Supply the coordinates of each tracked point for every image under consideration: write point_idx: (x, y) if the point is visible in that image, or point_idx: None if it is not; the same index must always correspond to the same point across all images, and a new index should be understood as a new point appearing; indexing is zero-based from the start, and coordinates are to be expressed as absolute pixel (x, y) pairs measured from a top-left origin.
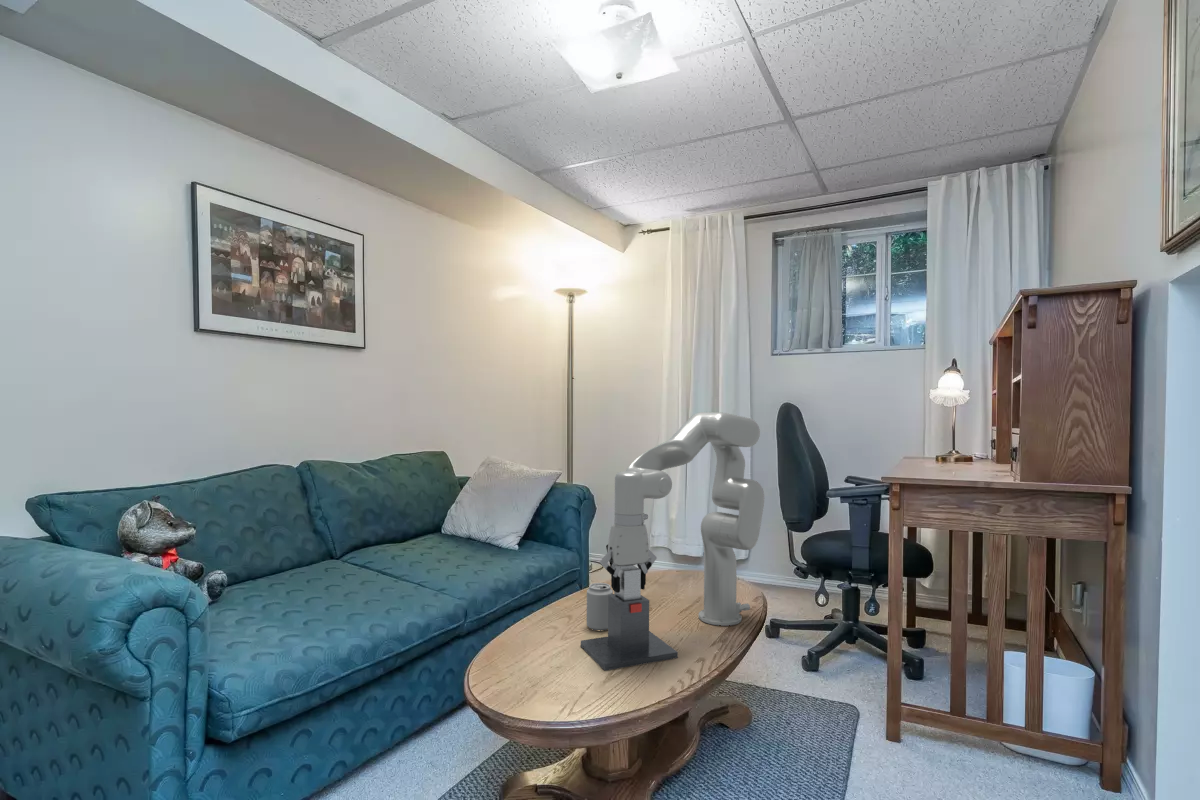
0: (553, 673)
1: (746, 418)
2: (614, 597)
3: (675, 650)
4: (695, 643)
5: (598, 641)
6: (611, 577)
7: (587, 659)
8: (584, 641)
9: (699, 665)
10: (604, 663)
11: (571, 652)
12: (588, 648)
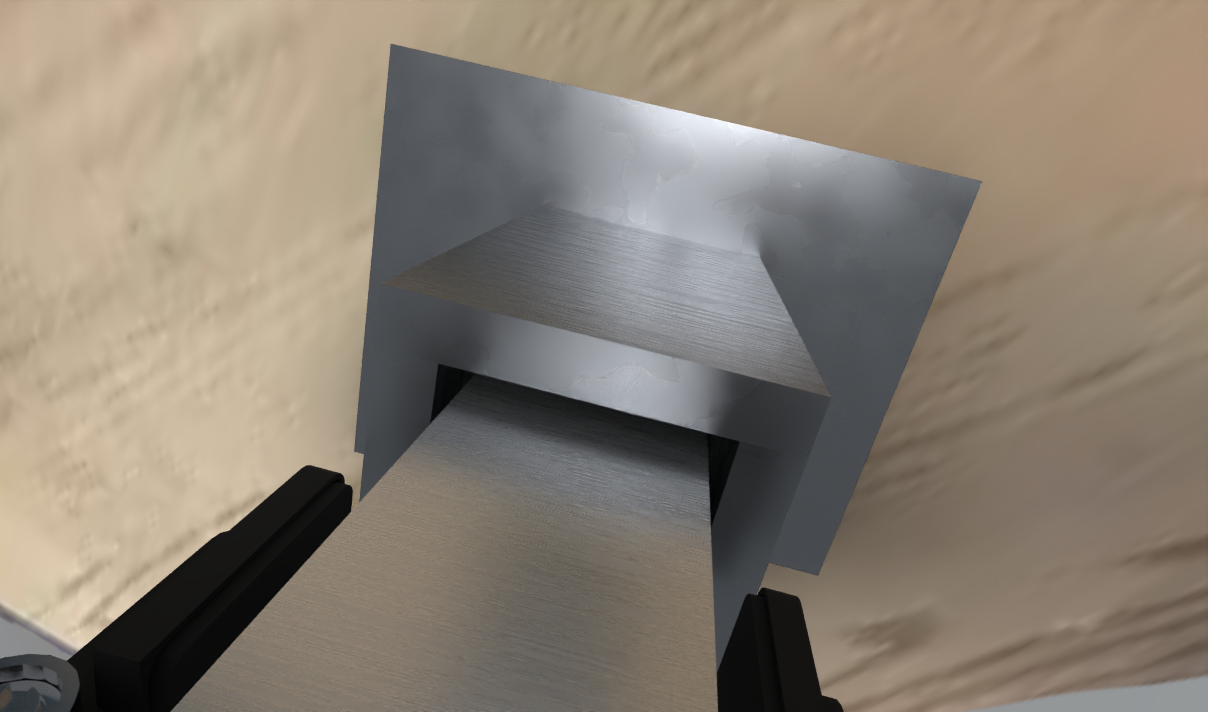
0: (123, 302)
1: None
2: (397, 425)
3: (824, 554)
4: (1100, 478)
5: (496, 142)
6: (82, 657)
7: (356, 262)
8: (408, 77)
9: (830, 668)
10: (359, 441)
11: (311, 107)
12: (377, 205)
